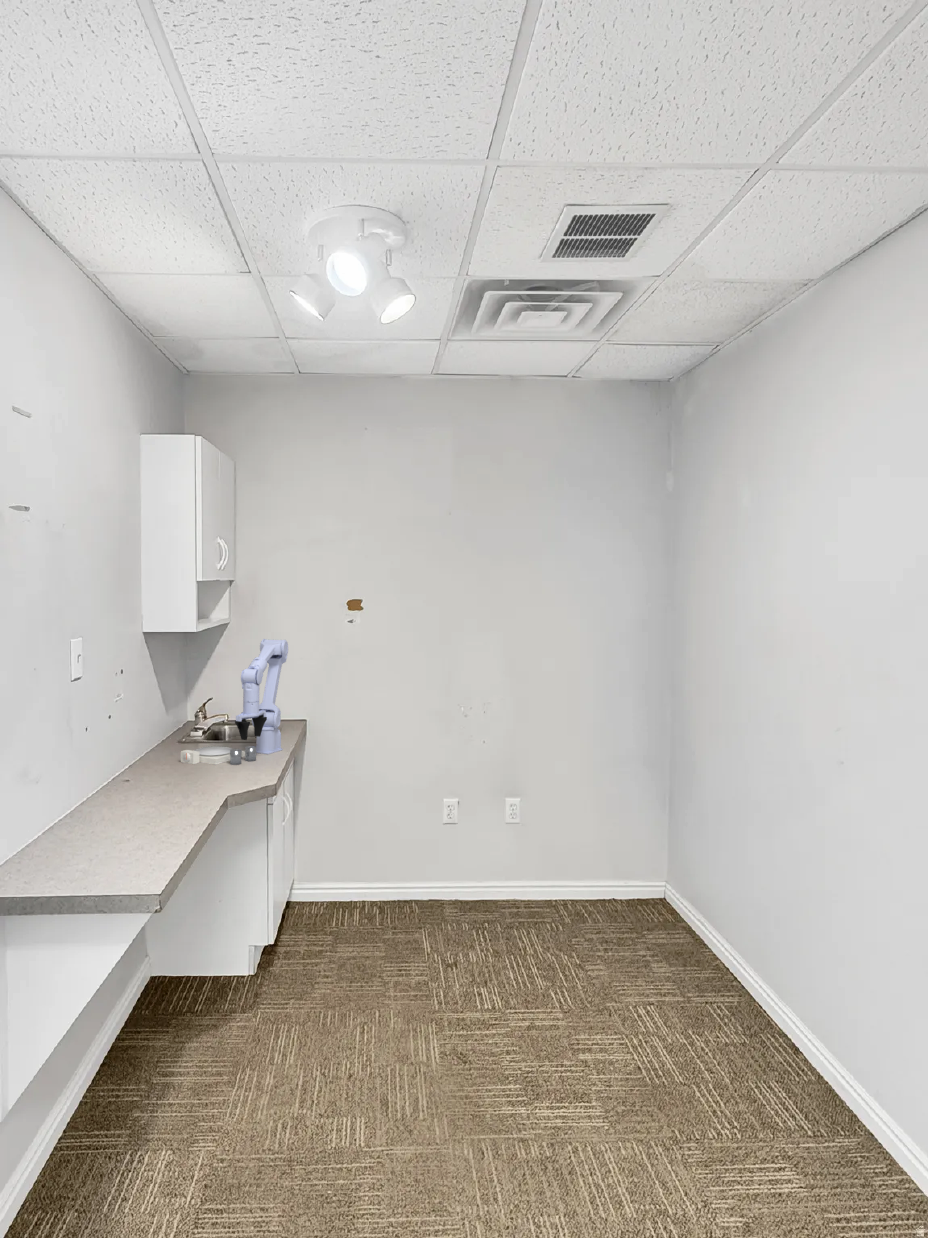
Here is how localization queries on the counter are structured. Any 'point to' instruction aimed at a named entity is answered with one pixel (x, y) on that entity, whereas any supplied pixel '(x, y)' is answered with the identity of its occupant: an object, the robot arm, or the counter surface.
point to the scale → (207, 755)
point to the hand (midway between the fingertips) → (250, 738)
